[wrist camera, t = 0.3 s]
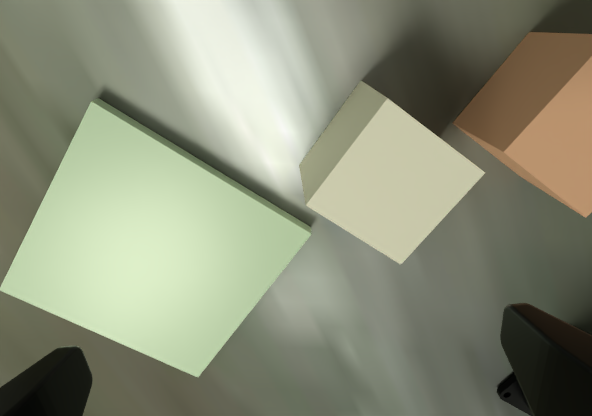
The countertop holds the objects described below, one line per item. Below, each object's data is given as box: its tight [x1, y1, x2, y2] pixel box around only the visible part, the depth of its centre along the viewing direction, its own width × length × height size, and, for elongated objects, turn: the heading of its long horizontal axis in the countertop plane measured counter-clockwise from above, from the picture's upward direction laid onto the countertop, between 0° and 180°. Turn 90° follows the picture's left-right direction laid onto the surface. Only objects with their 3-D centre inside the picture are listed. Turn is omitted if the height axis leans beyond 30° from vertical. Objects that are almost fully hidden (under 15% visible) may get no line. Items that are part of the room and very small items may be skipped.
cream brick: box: [299, 81, 485, 264], centre depth 18 cm, size 5×5×5 cm
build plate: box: [0, 98, 312, 377], centre depth 22 cm, size 12×12×1 cm
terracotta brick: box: [453, 32, 592, 218], centre depth 17 cm, size 5×5×5 cm
